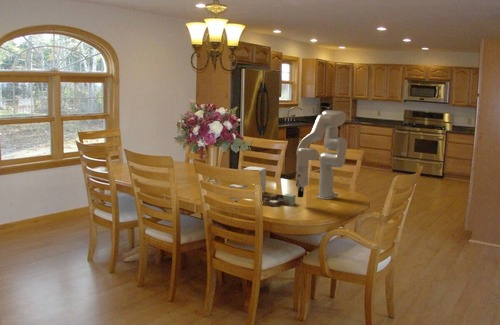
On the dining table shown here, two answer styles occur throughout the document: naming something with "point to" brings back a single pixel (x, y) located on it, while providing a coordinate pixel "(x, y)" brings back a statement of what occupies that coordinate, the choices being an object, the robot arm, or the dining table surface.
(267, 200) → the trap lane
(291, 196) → the block
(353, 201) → the dining table surface
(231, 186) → the ink box
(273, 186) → the dining table surface
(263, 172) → the supplement box
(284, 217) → the dining table surface
